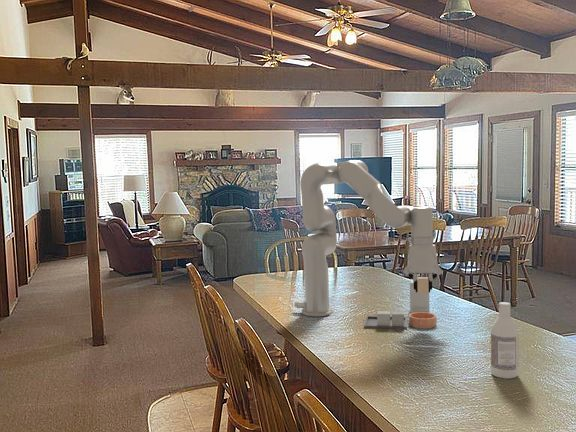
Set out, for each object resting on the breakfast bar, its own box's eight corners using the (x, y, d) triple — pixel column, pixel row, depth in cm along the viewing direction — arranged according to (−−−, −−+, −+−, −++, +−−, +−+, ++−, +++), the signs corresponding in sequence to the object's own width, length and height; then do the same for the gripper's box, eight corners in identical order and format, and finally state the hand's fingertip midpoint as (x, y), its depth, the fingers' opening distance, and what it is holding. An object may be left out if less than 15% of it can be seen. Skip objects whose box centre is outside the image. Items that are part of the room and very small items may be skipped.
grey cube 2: (392, 327, 198) (391, 314, 198) (392, 324, 202) (392, 311, 202) (404, 328, 197) (403, 314, 197) (404, 325, 201) (403, 311, 201)
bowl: (409, 328, 198) (409, 318, 198) (409, 321, 208) (408, 311, 207) (437, 329, 196) (437, 319, 196) (435, 322, 206) (435, 312, 205)
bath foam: (496, 368, 158) (496, 299, 156) (521, 373, 153) (522, 302, 152) (487, 375, 153) (487, 304, 151) (512, 381, 148) (513, 307, 146)
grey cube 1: (377, 327, 199) (377, 313, 199) (377, 324, 203) (377, 311, 203) (390, 327, 198) (390, 314, 198) (390, 324, 202) (390, 311, 202)
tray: (364, 328, 199) (364, 325, 199) (366, 319, 212) (366, 316, 212) (407, 330, 196) (406, 326, 196) (406, 320, 209) (406, 317, 209)
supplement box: (429, 315, 215) (429, 282, 214) (410, 314, 217) (409, 282, 216) (428, 310, 223) (428, 278, 221) (409, 309, 224) (409, 278, 223)
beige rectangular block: (417, 293, 199) (417, 279, 198) (417, 290, 203) (417, 277, 203) (428, 293, 198) (428, 279, 198) (428, 290, 202) (427, 277, 202)
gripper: (398, 242, 197) (399, 293, 199) (447, 242, 194) (447, 294, 195) (398, 240, 205) (399, 289, 206) (445, 239, 201) (446, 289, 203)
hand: (422, 291), depth 201 cm, fingers closed on beige rectangular block, 3 cm apart
